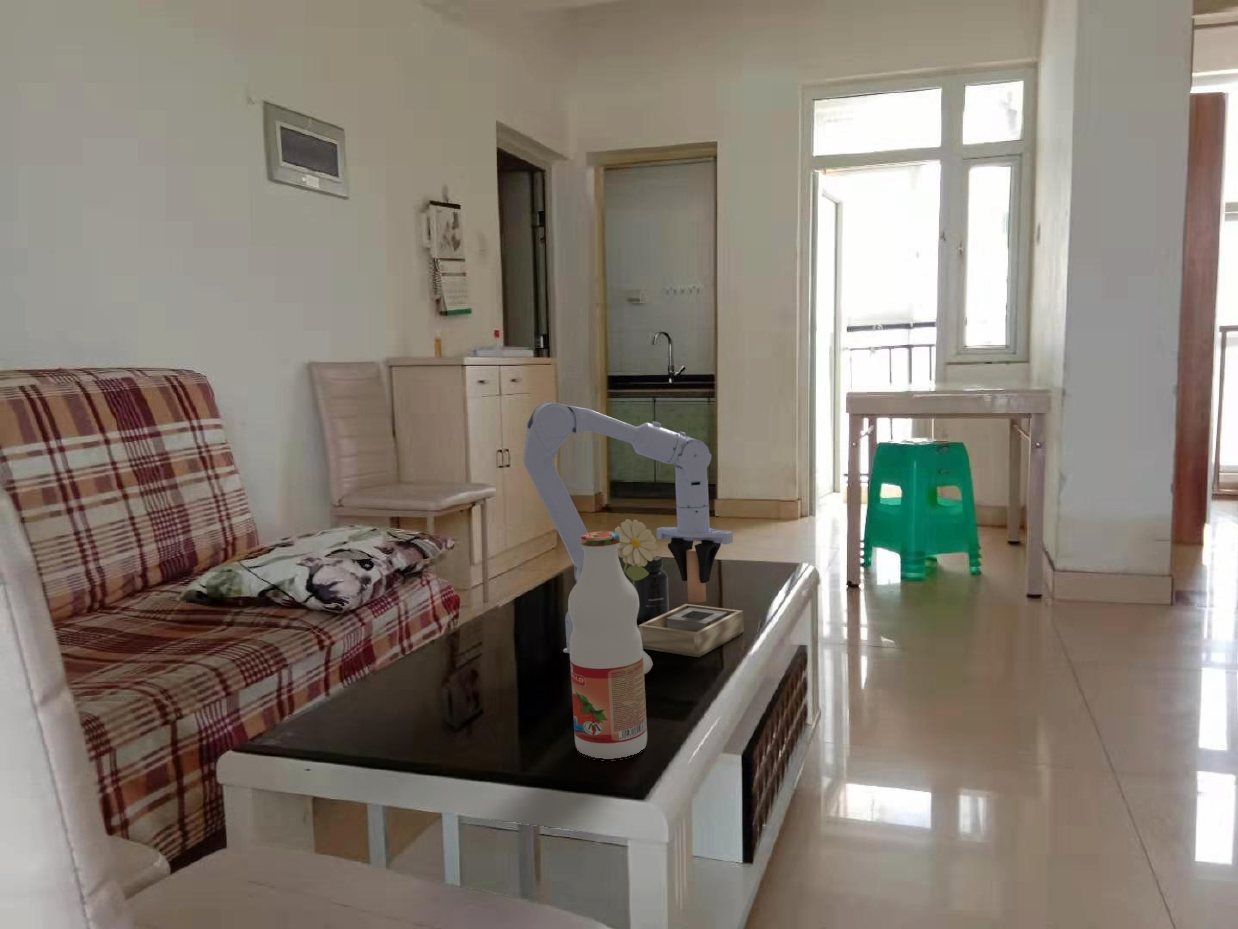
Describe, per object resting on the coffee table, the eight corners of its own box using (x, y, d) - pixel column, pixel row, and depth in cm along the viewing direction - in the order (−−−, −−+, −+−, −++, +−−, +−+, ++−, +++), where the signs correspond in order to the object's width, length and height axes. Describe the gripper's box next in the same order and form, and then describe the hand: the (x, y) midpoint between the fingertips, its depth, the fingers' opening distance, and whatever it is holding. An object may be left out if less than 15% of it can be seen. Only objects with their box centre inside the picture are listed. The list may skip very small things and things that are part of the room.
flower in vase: (591, 692, 141) (582, 530, 139) (575, 669, 152) (566, 519, 150) (672, 680, 145) (665, 522, 142) (651, 659, 156) (643, 511, 153)
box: (699, 657, 155) (698, 634, 155) (639, 647, 162) (638, 625, 162) (743, 632, 168) (742, 610, 168) (686, 624, 175) (685, 603, 175)
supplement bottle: (656, 624, 176) (653, 562, 175) (627, 620, 180) (624, 559, 179) (676, 616, 182) (673, 555, 180) (648, 612, 186) (645, 552, 184)
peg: (700, 603, 164) (698, 553, 163) (684, 601, 166) (682, 551, 165) (709, 599, 167) (707, 549, 166) (693, 597, 169) (691, 548, 168)
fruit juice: (651, 759, 116) (640, 538, 113) (575, 765, 116) (562, 543, 113) (644, 730, 125) (634, 525, 123) (574, 735, 125) (562, 530, 122)
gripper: (739, 504, 163) (742, 579, 165) (669, 500, 172) (673, 572, 173) (720, 510, 158) (723, 588, 159) (648, 506, 166) (652, 580, 168)
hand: (695, 581), depth 166 cm, fingers closed on peg, 3 cm apart
